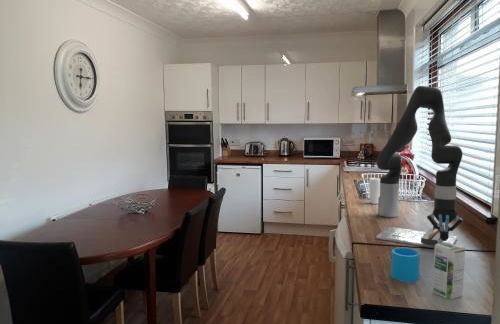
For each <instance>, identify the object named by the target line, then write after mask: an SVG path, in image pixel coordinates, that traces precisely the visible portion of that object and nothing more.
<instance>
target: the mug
mask: <svg viewBox="0 0 500 324" xmlns="http://www.w3.org/2000/svg"><path fill="white" fill-rule="evenodd" d="M420 254H421V253H420V252H419V251H417V250H415V249H412V248H407V247H397V248H395V247H394V248H393V249H392V250H391V271H390V272H391V273H390V275H391V277H392V279H394V278H395V279H394V280H396V279H397V281H399V282H403V281H405V282H404V283H413V282H414V281H415V282H417V280H418V281H419V278H420V257H421V256H420Z"/></svg>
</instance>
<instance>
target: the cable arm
mask: <svg viewBox="0 0 500 324" xmlns="http://www.w3.org/2000/svg"><path fill="white" fill-rule="evenodd" d="M437 224H438V225H439V222H437ZM425 232H426V233H425V234H424V235H423V236H422V237H421V243H424V244H430V245H435V244H438V243H440V242H441V240H442V239H440V230H438V229H435V227H434V226H433V225H432V228H429V229H428V230H427V231H425Z"/></svg>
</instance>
